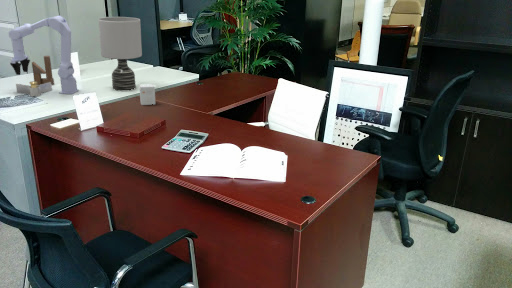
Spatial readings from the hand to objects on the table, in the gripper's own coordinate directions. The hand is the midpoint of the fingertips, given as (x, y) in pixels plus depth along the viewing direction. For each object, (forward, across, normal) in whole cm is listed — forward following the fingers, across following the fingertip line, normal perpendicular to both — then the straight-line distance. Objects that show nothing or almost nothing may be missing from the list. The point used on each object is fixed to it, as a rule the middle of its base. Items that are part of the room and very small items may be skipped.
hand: (21, 73), depth 262 cm
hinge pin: (+10, +8, +11) cm, 17 cm away
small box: (+11, +10, +78) cm, 79 cm away
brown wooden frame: (+11, -16, +4) cm, 20 cm away
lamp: (+11, -19, +54) cm, 58 cm away
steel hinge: (+10, +3, +7) cm, 13 cm away
